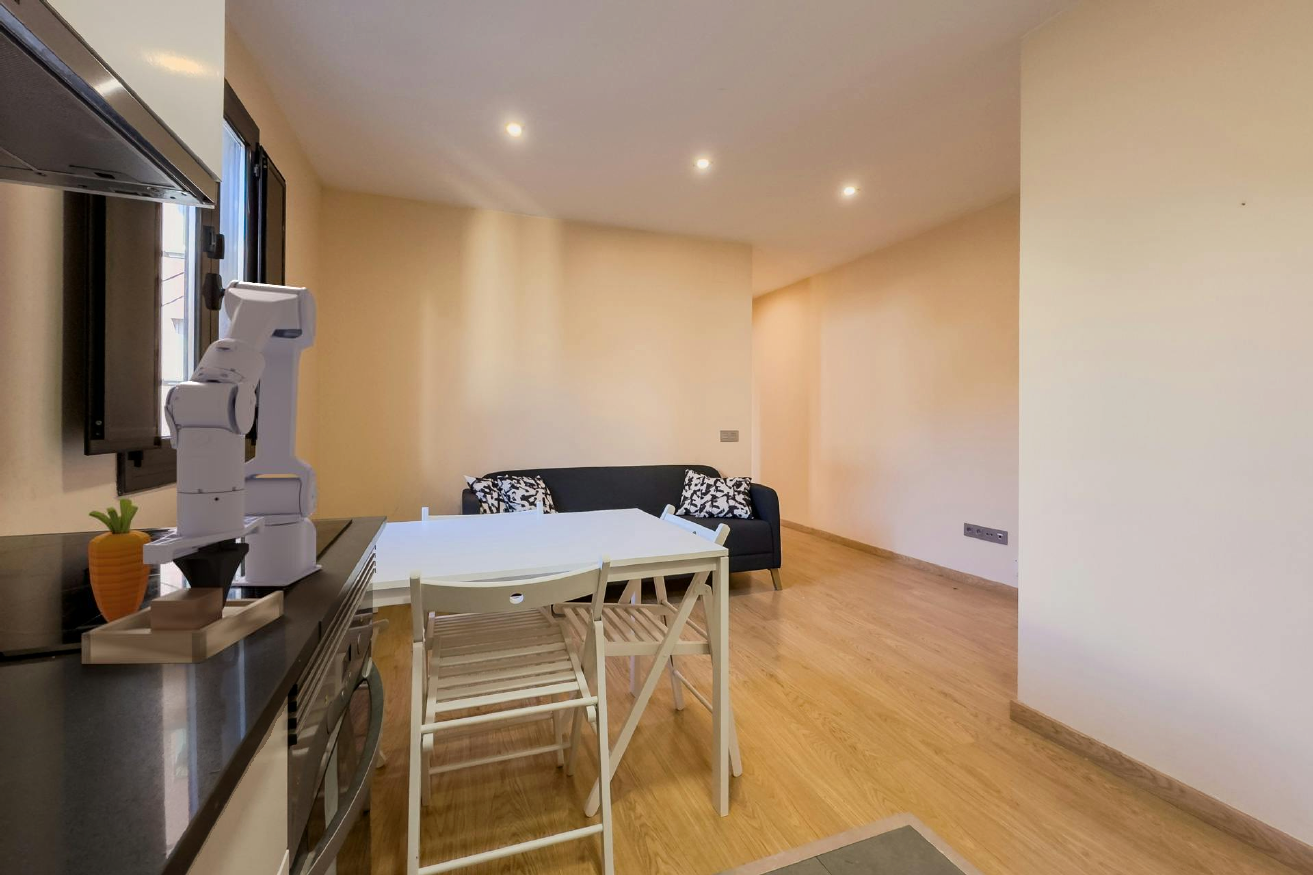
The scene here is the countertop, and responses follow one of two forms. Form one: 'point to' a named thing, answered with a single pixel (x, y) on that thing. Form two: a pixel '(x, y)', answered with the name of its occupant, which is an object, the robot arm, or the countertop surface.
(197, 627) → the block
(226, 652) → the countertop surface
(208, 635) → the tray box
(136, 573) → the carrot
